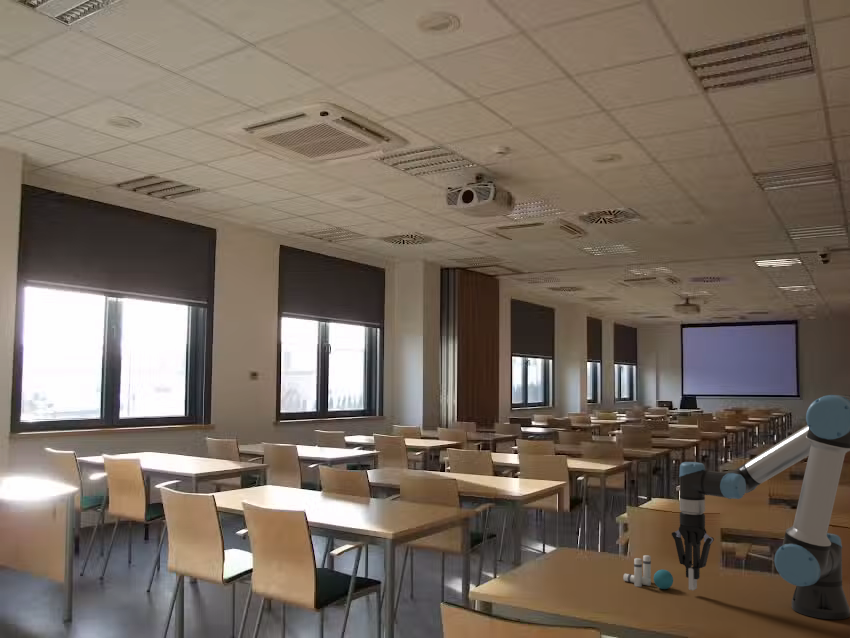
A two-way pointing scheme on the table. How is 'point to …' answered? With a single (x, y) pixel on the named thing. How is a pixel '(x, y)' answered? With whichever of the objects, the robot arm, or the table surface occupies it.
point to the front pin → (631, 579)
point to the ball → (663, 579)
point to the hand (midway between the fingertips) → (692, 588)
